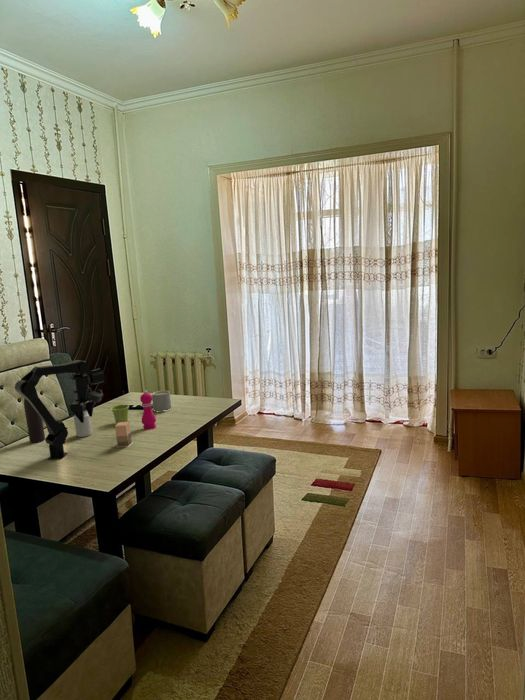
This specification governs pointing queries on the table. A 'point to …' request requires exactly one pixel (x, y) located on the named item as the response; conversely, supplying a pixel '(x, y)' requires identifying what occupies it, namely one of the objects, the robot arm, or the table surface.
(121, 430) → the terracotta block
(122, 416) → the plant pot
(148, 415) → the pepper mill
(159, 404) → the coffee mug
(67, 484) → the table surface
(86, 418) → the can
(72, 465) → the table surface
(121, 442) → the walnut base block
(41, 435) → the wine bottle
